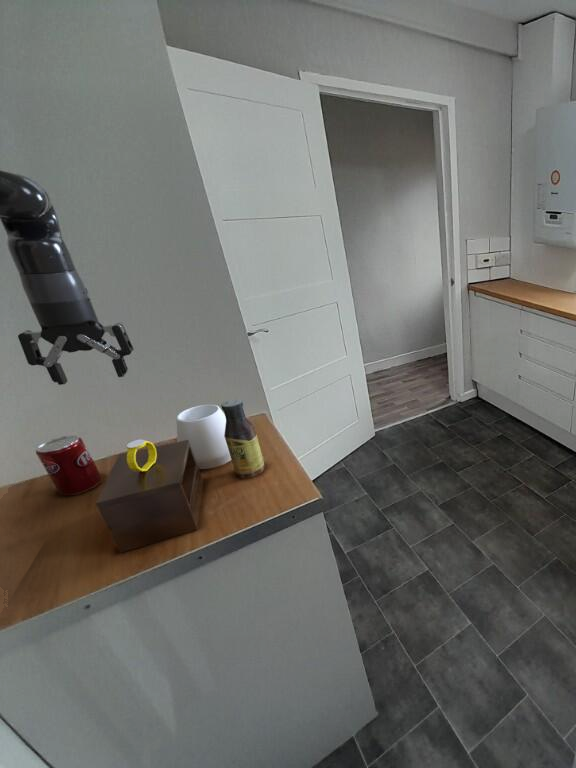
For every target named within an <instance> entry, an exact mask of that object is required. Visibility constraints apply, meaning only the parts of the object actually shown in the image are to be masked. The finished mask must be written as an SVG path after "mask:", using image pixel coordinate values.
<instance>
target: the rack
mask: <svg viewBox="0 0 576 768" xmlns="http://www.w3.org/2000/svg"><path fill="white" fill-rule="evenodd" d="M155 448H156V452H157V457H156V462H155V463H154V464H153V465H152V466H151V467H150V468H149V469H148V470H147V471H142V472H134V471H133V470H131V469H130V468H129V466H128V463H127V453H128V452H123V453H118V456H117V458H116V460H115V462H114V464H113V466H112V468H111V471H110V473H109V475H108V477H107V479H106V481H105V483H104V485H103V487H102V490H101V491H100V494H99V496H98V498H97V500H96V502H95V504H96V507H97V508H98V510H99V512H100V515H101V517H102V518H103V520H104V522H105V524H106V527H107V529H108V530H109V532H110V535H111V536H112V539H113V541H114V542H115V545H116V546H117V548H118V551H119V553H120V554H122V553H125V552H129V551H132V550H135V549H138V548H142V547H144V546H148V545H152V544H155V543H158V542H162V541H166V540H169V539H172V538H175V537H178V536H182V535H185V534H189V533H191V532H195V531H198V529H199V528H198V527H199V520H200V512H201V505H202V498H203V497H202V496H203V490H204V480H203V477H202V474H201V471H200V469H199V468H198V465H197V463H196V460H195V457H194V454H193V451H192V448H191V446H190V443H189V440H185V441H180V442H177V441H176V442H172V443H166V444H162V445H161V444H160V445H156V446H155ZM148 457H149V454H148V449H147V448H141V449H137V452H136V463H137V465H138V467H139V468H142V467H143V466H144V465H145V464H146V463H147V462H148Z"/></svg>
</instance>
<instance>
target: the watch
mask: <svg viewBox="0 0 576 768" xmlns="http://www.w3.org/2000/svg"><path fill="white" fill-rule="evenodd" d="M144 447H145V448H146V449H148V454H149V457H148V462H147V463H146V464H145V465H144V466H143V467H142V468H139V467H138V465H137V463H136V452H137V450H141V449H143V448H144ZM155 447H156V446H155V445H154V443H152V442H151V441H149V440H144V439H136V440H132V441H131V442H129V443H128V444H127V445H126V448H127V452H126V453H127V463H128V466H129V468H130V469H131V470H133V471H134V472H142V471H147V470H148V469H149V468H150V467H151V466H152V465H153V464H154V463H155V462H156V457H157V452H156V448H155Z"/></svg>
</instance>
